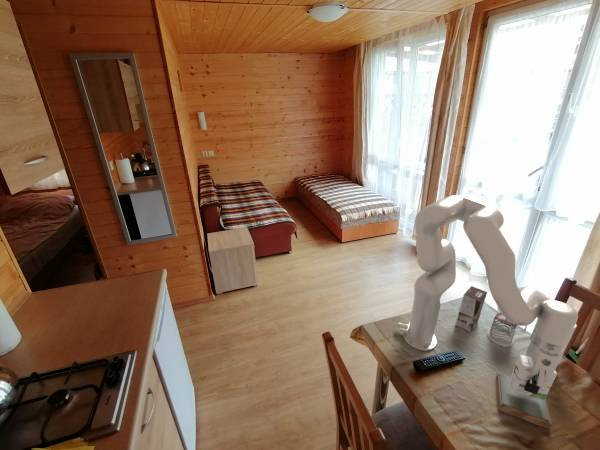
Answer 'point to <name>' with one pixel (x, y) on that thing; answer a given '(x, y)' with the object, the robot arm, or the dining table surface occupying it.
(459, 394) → the dining table surface
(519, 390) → the ink box
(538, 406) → the stand
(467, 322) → the coffee box
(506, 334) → the french press
